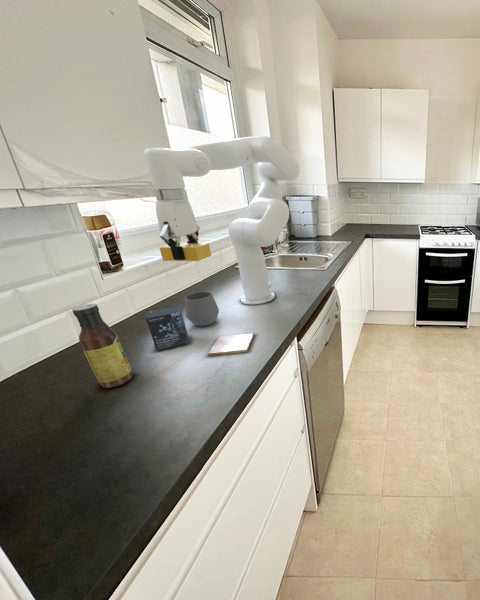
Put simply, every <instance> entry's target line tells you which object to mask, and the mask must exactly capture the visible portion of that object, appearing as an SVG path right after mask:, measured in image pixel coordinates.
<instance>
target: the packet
mask: <svg viewBox="0 0 480 600" xmlns="http://www.w3.org/2000/svg"><path fill="white" fill-rule="evenodd" d="M180 246H182V248H183V252H184V256H185V259H184V260H174V259H173V255H172V251H171V248H170V247H169V246H168V244H166V245H163V246H160V247H159V253H160V255H161V258H162V261H163V262H164V261H167V262H169V261H170V262H177V261H178V262H200V261H202V260H204V259H205V260H206V259H207V258H209V257H212V252H211V248H210V244H209V242H208V243H207V242H198V243H187V242H180Z"/></svg>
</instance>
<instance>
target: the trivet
mask: <svg viewBox="0 0 480 600" xmlns="http://www.w3.org/2000/svg"><path fill="white" fill-rule="evenodd" d="M254 336H255V333H254V332H252V333H241V334H231V335H220V336H218V337H217V339H216V340H215V342H214V344H213V345H212V347H211V348H210V350H209V351H208V353H207V355H208V357H212V356H223V355H233V354H241V353H248V351H249V348H250V346H251V344H252V342H253V339H254V338H255V337H254Z"/></svg>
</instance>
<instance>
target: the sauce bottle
mask: <svg viewBox="0 0 480 600" xmlns="http://www.w3.org/2000/svg"><path fill="white" fill-rule="evenodd" d="M71 311H72V314H73V315H74V317H75V318H76V320H77V321H78V323H79V327H80V330H81V331H80V332H79V336H78V340H79V342H80V346H81V347H82V351H83V352H84V355H85V357H86V359H87V361H88V363H89V365H90V368H91V369H92V371H93V374H94V376H95V377H96V380H97V382H98V383H99V384H100V386H101V387H102V388H103V389H111V388H115V387H119V386H122V385H125V383H127V382H129V381H130V380H131V379H132V378H133V372H132V367H131V366H130V363H129V361H128V358H127V356H126V353H125V351H124V348H123V346H122V344H121V341H120V339H119V337H118V335H117V333H116V331H114V330H113V328H112V327H110V325H108V323H106V322H105V321H104V319H103V318H102V316H101V313H100V308H99V306H98V304H96V303H85V304H81V305H77V306H75V307H73V308H72V310H71Z"/></svg>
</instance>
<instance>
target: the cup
mask: <svg viewBox="0 0 480 600" xmlns="http://www.w3.org/2000/svg"><path fill="white" fill-rule="evenodd" d="M184 303H185V304H184V305H185V316H186V319H187V320H188V321H189V322H191V323H192V324H193V325H194V326H196V327H206V326H210V325H213V324H214V323H215V322H216V321H217V319H218V316H219V313H220V309H219V306H218V304H217V302H216V300H215V298H214V296H213V293H212V292H211V291H196V292H191V293H189V294H187V295H186V296H185V297H184Z"/></svg>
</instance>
